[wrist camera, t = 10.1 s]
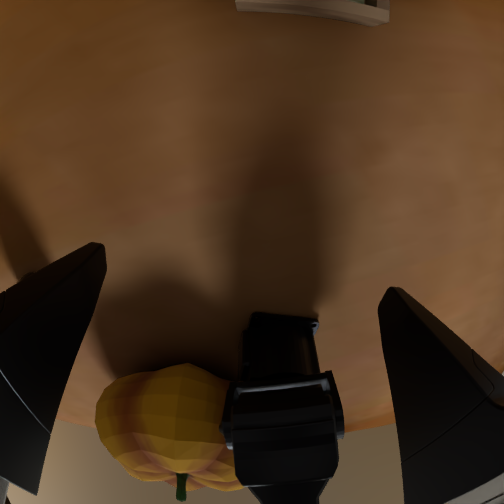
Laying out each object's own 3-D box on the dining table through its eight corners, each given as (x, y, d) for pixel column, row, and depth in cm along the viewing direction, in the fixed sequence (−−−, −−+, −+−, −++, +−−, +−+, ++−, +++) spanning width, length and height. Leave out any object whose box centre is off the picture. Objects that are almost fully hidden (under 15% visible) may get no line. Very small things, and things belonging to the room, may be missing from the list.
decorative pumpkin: (298, 408, 39) (307, 506, 26) (168, 428, 44) (158, 508, 31) (234, 320, 28) (229, 477, 16) (81, 359, 33) (46, 461, 21)
